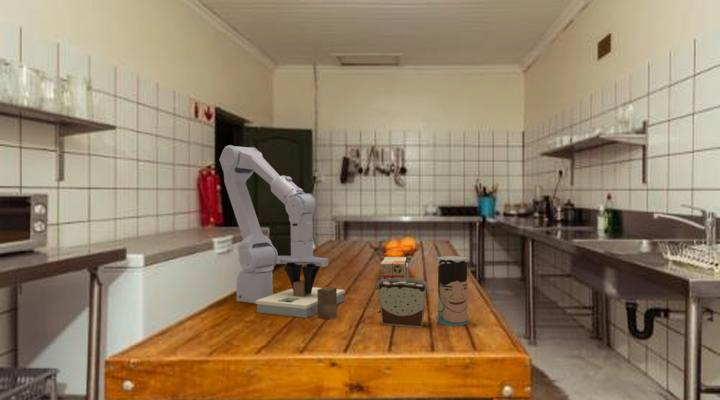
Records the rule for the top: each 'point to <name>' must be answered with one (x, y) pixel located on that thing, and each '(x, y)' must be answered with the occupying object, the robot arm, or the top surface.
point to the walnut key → (327, 302)
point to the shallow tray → (292, 309)
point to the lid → (294, 297)
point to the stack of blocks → (394, 268)
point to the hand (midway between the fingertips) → (302, 292)
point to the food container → (402, 301)
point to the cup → (452, 290)
